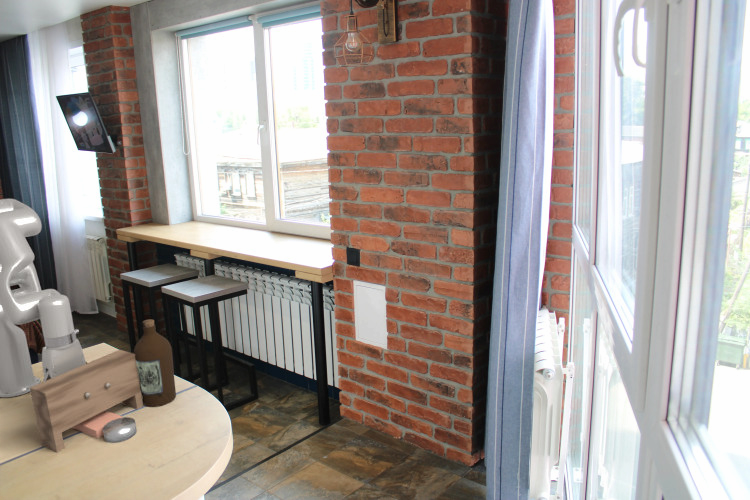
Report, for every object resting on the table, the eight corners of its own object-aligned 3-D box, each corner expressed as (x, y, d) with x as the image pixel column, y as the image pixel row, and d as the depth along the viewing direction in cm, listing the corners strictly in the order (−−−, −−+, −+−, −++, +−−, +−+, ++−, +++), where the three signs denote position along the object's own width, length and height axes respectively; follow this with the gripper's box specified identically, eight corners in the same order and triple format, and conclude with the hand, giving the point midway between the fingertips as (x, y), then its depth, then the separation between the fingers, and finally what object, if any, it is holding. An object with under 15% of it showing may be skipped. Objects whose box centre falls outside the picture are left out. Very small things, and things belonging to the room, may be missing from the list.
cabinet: (41, 445, 150) (29, 387, 146) (128, 400, 172) (119, 349, 168) (59, 453, 146) (47, 394, 142) (145, 406, 168) (137, 354, 164)
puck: (98, 437, 153) (96, 427, 152) (126, 424, 159) (124, 414, 159) (115, 447, 149) (113, 436, 148) (142, 432, 155) (141, 422, 154)
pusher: (56, 421, 162) (47, 375, 159) (83, 408, 169) (75, 364, 165) (97, 438, 152) (88, 390, 149) (123, 423, 159) (116, 377, 156)
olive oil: (151, 390, 178) (139, 314, 172) (183, 390, 177) (173, 314, 171) (134, 408, 167) (121, 328, 161) (169, 408, 166) (157, 327, 160)
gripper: (80, 326, 167) (90, 383, 172) (21, 348, 154) (34, 409, 158) (96, 331, 164) (106, 389, 168) (37, 353, 150) (49, 416, 154)
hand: (71, 398), depth 163 cm, fingers closed on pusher, 4 cm apart
